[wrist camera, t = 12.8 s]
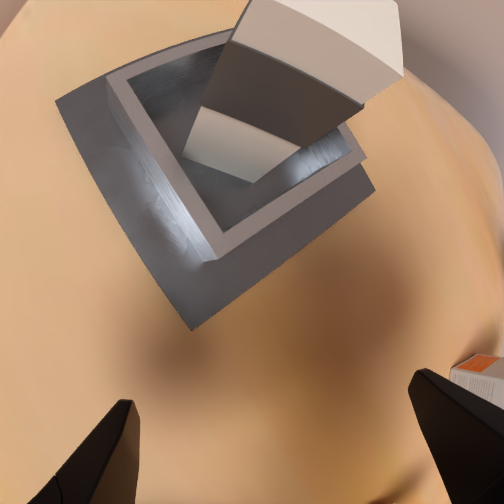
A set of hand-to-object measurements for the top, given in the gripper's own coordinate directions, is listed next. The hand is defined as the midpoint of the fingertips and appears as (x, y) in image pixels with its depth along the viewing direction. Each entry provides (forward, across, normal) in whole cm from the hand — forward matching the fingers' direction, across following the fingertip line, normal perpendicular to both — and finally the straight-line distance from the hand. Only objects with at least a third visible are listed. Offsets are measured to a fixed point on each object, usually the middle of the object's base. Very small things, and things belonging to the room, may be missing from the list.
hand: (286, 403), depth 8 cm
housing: (+14, +1, -7) cm, 15 cm away
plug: (+13, +1, -7) cm, 15 cm away
